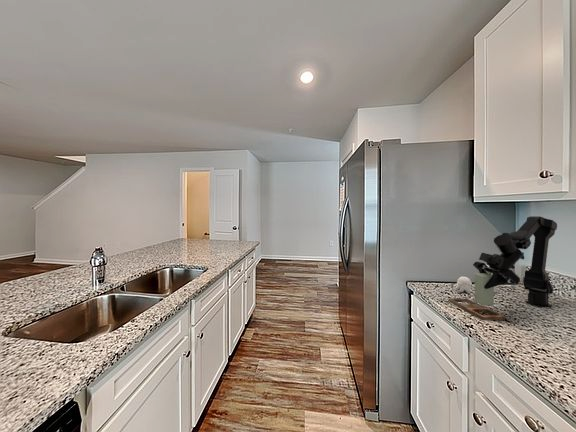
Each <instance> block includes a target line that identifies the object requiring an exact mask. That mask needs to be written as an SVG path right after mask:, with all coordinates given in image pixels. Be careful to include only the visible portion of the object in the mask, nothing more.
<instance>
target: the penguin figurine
mask: <svg viewBox="0 0 576 432" xmlns="http://www.w3.org/2000/svg"><path fill="white" fill-rule="evenodd" d="M472 285H473V283H472V281H471V279H470V278H469V277H467V276H462V275H461V276H460V277H459V278H458V279H457V282H456V287H457V288H456V289H457V292H458V293H463V292H464V291H465V292H466V293H467V294H471V290H472Z"/></svg>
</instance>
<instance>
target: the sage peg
mask: <svg viewBox="0 0 576 432" xmlns="http://www.w3.org/2000/svg"><path fill="white" fill-rule="evenodd" d="M491 277H492V275H489V274H486V273H479V272H478V273H474V302H475V303H477V304H480V305H482V306H494V305H495V303H494V300H495V299H494V297H495V294H494V293H495V292H494V287H491V288H488V289H485V288H484V286H485V285H486V283H487V282H488V281H489V280H490V279H491Z"/></svg>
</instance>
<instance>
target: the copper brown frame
mask: <svg viewBox="0 0 576 432" xmlns="http://www.w3.org/2000/svg"><path fill="white" fill-rule="evenodd" d="M448 302H449V303H451V304H453V305H454V306H456V307H457V308H460V309H462V310H464V311H466V312H467V313H469V314H470V315H472V316H474V317H476V318H477V319H480V320H481V321H505V320H506V319H505V318H506V316H505V315H503V314H501V313H499V312H497V311H495V310H492V309H491V308H489V307H485V305H481V304H479V303H477V302H475V301H473V300H471V299H469V298H462V297H461V298H448ZM460 302H461V303H463V302H466V303H468V304H461V303H460ZM481 313H488V314H490V315H484V314H483V315H482V314H481Z"/></svg>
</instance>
